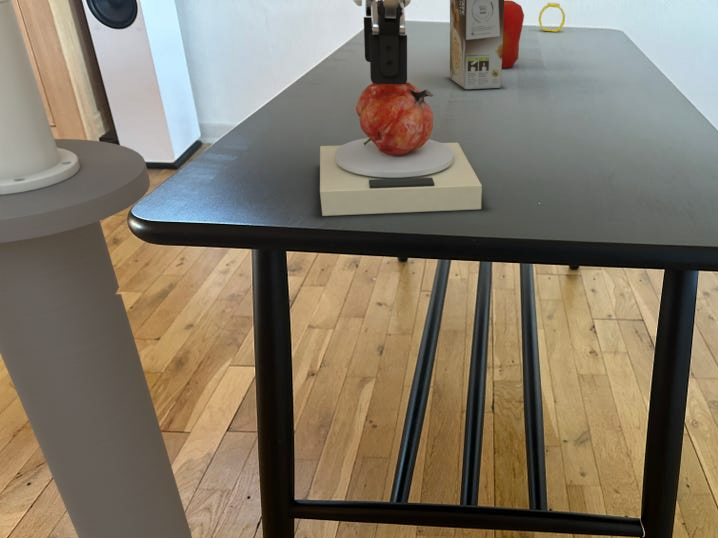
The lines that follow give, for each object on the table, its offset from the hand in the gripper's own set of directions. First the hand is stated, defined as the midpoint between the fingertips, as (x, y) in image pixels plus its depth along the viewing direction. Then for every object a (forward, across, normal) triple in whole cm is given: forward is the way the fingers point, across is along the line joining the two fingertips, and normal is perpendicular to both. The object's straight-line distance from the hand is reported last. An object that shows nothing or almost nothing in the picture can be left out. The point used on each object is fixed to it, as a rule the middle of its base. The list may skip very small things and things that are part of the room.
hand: (384, 71), depth 65 cm
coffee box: (+11, -47, +18) cm, 51 cm away
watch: (+10, -101, +46) cm, 112 cm away
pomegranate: (+8, 0, +1) cm, 8 cm away
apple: (+11, -61, +25) cm, 67 cm away
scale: (+11, +1, +1) cm, 11 cm away
